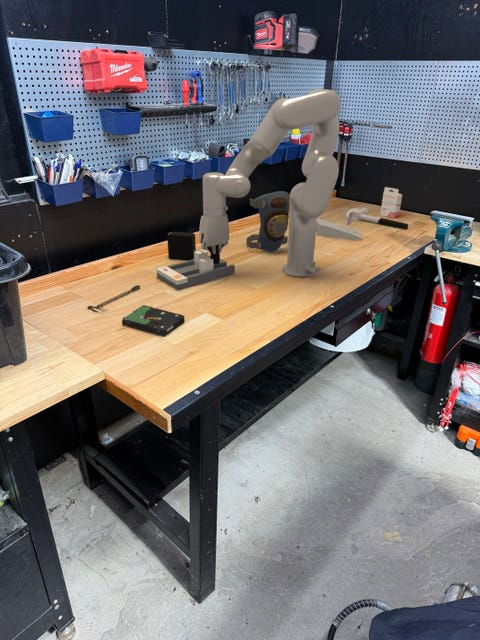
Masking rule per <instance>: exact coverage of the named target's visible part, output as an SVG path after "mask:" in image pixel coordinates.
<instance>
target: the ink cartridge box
mask: <svg viewBox="0 0 480 640" xmlns="http://www.w3.org/2000/svg"><path fill="white" fill-rule="evenodd" d="M383 189H384V190H383V193H382V200H381V208H380V216H383V217H387V218H392V219H395V218H399V216H400V210H401V205H402V198H403V194H401V193H399V189H398V188H393V187H388V186H387V187H386V186H385V187H384V188H383Z"/></svg>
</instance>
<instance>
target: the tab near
mask: <svg viewBox="0 0 480 640" xmlns="http://www.w3.org/2000/svg"><path fill="white" fill-rule="evenodd" d="M210 270H213V259H211V258H209V257H208V258H205V257H203V259H200V260H199V273H202V272H206V271H210Z"/></svg>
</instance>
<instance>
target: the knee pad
mask: <svg viewBox="0 0 480 640" xmlns="http://www.w3.org/2000/svg"><path fill="white" fill-rule="evenodd" d="M289 197H290V192H286V191H284V190H283V191H282V190H280V191H274V192H271V193H266V194H265V193H264V194H263V195H262V194H261V195H260V196H258V197H255V198H253V199H252V198H251V197H250V198H249V206H251V207H253V209H258V215H259V219H260V220H259V222H260V223H259V224H260V226H259V231H258V233H257V234H256V233H254V234H251V235H249V236H248V237H246V241H245V242H246V246H247V247H248V248H249V249H256V250H261V251H263V252H267V253H274V252H277V251H278V250H280V248H281V247H282V245H284V246H285V244H287V245H288V240H289V235H288V236H285V235H286V232H287V230H288V227H289V226H288V225H289V220H290V210H289ZM254 241H255V242H254Z"/></svg>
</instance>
